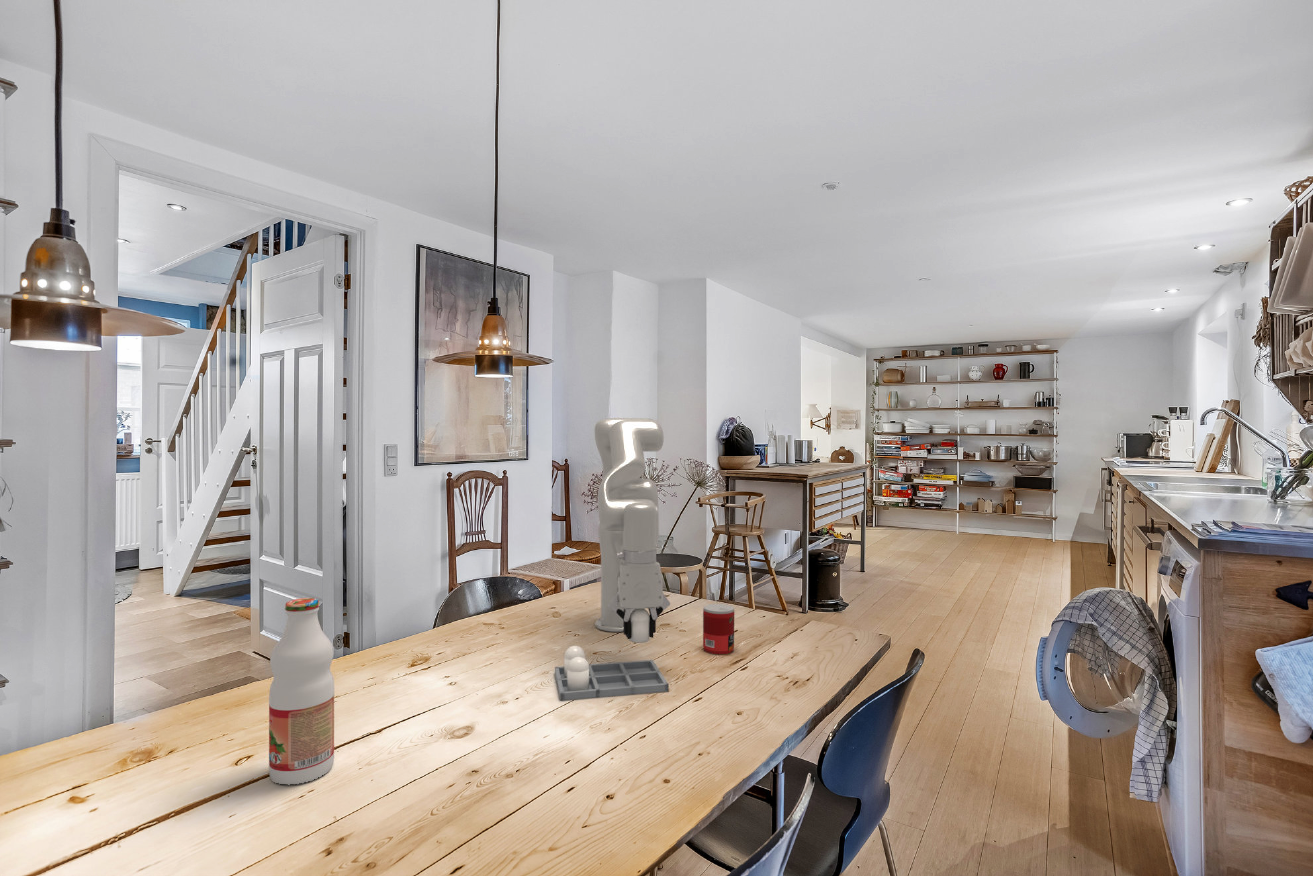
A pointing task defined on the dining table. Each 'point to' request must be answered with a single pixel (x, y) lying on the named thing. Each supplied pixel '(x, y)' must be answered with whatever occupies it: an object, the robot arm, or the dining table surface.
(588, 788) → the dining table surface
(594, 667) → the egg carton
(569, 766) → the dining table surface
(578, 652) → the seated egg
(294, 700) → the fruit juice
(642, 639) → the loose egg
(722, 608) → the canned food
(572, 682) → the seated egg
